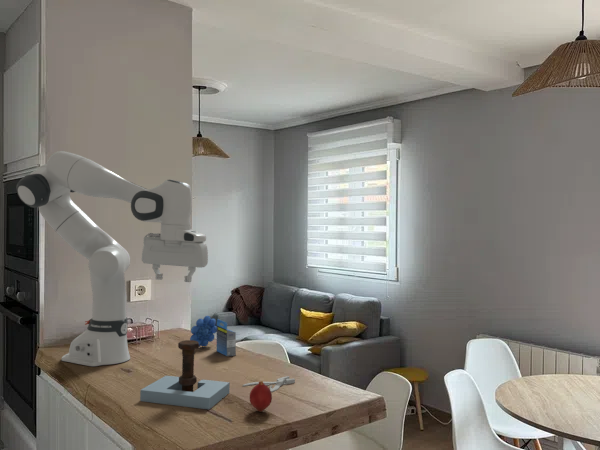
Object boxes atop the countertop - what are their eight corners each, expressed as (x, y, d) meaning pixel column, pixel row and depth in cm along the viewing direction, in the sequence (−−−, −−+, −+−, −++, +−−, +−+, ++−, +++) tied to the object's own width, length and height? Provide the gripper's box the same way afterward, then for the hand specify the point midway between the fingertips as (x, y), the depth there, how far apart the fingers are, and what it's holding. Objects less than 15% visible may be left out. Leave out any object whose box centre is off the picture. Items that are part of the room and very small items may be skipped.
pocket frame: (140, 401, 145) (140, 389, 145) (165, 385, 159) (166, 375, 159) (209, 409, 140) (209, 398, 140) (229, 392, 154) (229, 382, 154)
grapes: (210, 343, 213) (211, 312, 213) (220, 346, 208) (220, 315, 208) (184, 347, 205) (185, 315, 205) (193, 350, 200) (194, 318, 200)
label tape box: (236, 355, 195) (237, 321, 195) (226, 356, 193) (226, 322, 193) (225, 350, 203) (226, 317, 202) (215, 351, 200) (216, 318, 200)
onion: (249, 407, 142) (250, 377, 142) (271, 407, 143) (272, 377, 143) (248, 415, 137) (249, 384, 136) (271, 415, 137) (272, 384, 137)
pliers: (242, 381, 160) (281, 373, 170) (242, 387, 160) (281, 378, 170) (261, 390, 153) (302, 381, 162) (261, 396, 153) (301, 386, 162)
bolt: (199, 393, 152) (201, 340, 151) (195, 399, 147) (196, 344, 146) (179, 392, 152) (180, 339, 152) (174, 398, 147) (175, 343, 147)
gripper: (138, 232, 160) (136, 279, 161) (202, 236, 156) (200, 284, 156) (149, 232, 167) (147, 277, 167) (211, 236, 162) (208, 282, 162)
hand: (173, 280), depth 161 cm, fingers open, 8 cm apart
